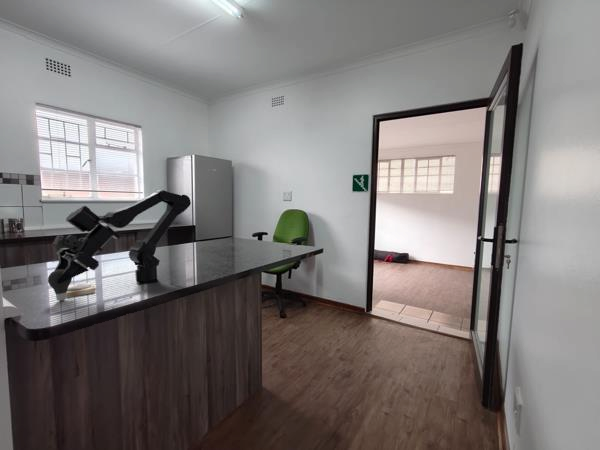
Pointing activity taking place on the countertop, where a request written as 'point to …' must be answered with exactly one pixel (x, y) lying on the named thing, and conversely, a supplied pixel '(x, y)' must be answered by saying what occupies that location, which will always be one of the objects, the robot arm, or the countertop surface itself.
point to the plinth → (80, 289)
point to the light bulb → (59, 285)
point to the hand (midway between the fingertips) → (54, 281)
